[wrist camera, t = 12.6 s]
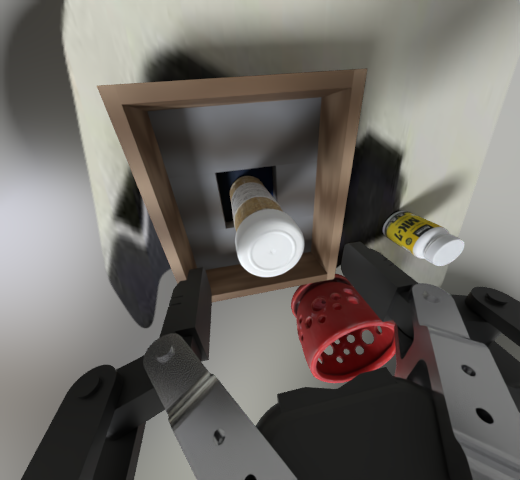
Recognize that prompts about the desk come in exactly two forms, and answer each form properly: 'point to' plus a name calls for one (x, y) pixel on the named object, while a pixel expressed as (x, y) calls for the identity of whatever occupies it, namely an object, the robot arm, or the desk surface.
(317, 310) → the plant pot
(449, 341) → the robot arm
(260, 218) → the sprinkles bottle
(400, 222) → the supplement bottle
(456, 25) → the desk surface
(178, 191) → the wooden box
